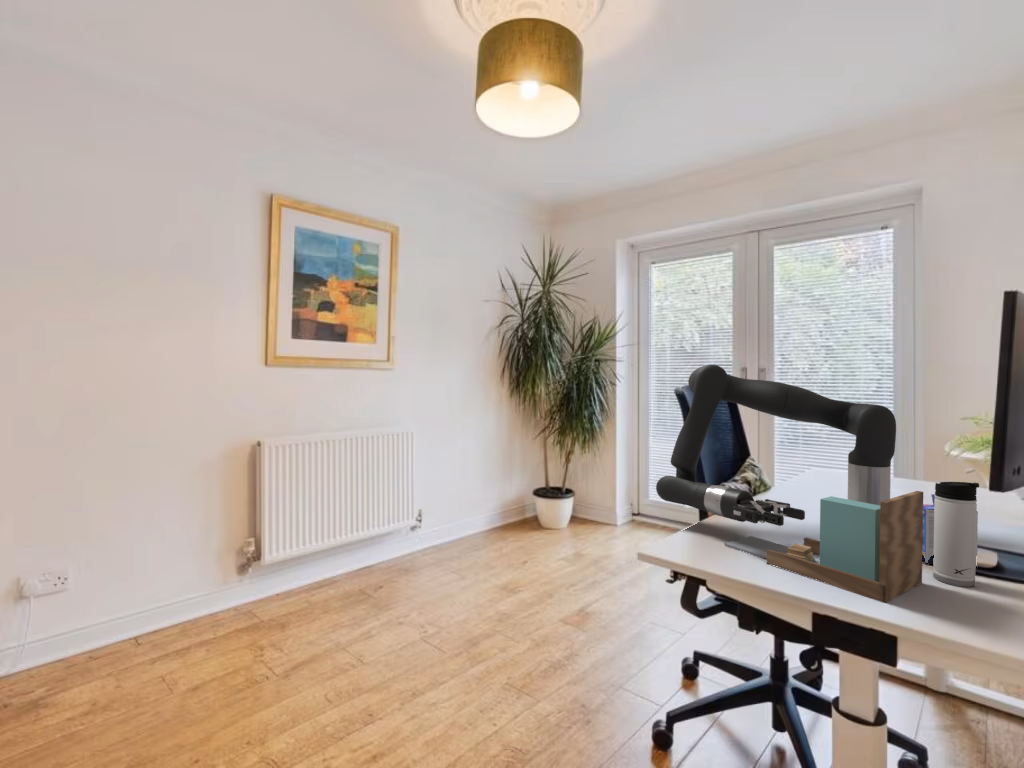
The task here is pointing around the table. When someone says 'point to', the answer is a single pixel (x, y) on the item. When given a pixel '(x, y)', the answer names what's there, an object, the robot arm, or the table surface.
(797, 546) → the offcut stack
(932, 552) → the ink cartridge box
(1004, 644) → the table surface
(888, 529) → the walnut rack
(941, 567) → the travel mug
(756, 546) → the slate mat
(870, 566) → the teal panel
